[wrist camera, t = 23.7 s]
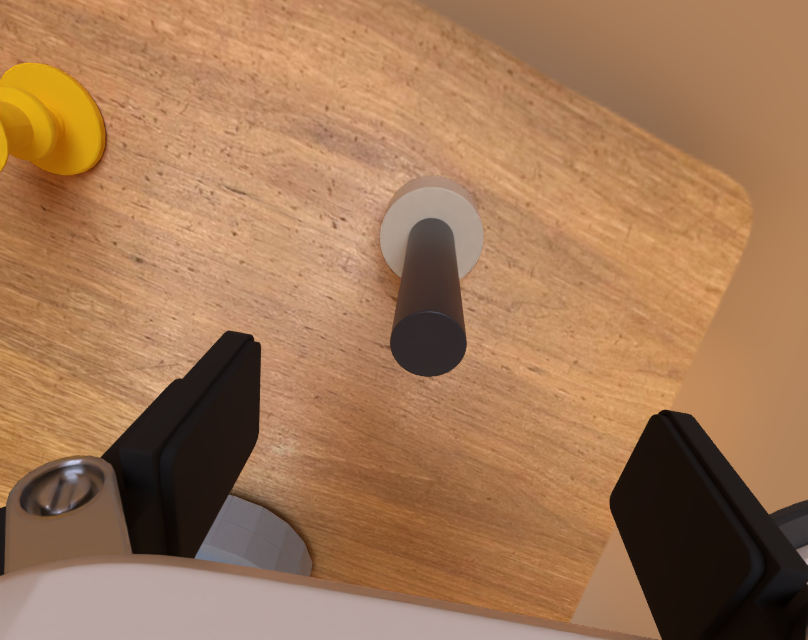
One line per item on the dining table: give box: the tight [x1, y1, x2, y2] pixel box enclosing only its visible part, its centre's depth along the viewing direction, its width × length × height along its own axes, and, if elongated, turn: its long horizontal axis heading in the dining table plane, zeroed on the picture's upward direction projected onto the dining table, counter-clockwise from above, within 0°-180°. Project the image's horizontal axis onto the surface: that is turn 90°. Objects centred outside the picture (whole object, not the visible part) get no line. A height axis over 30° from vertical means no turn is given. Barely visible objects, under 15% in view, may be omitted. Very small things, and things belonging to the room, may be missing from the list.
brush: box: [380, 176, 484, 377], centre depth 19 cm, size 5×5×13 cm
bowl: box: [194, 495, 313, 577], centre depth 36 cm, size 15×15×5 cm
